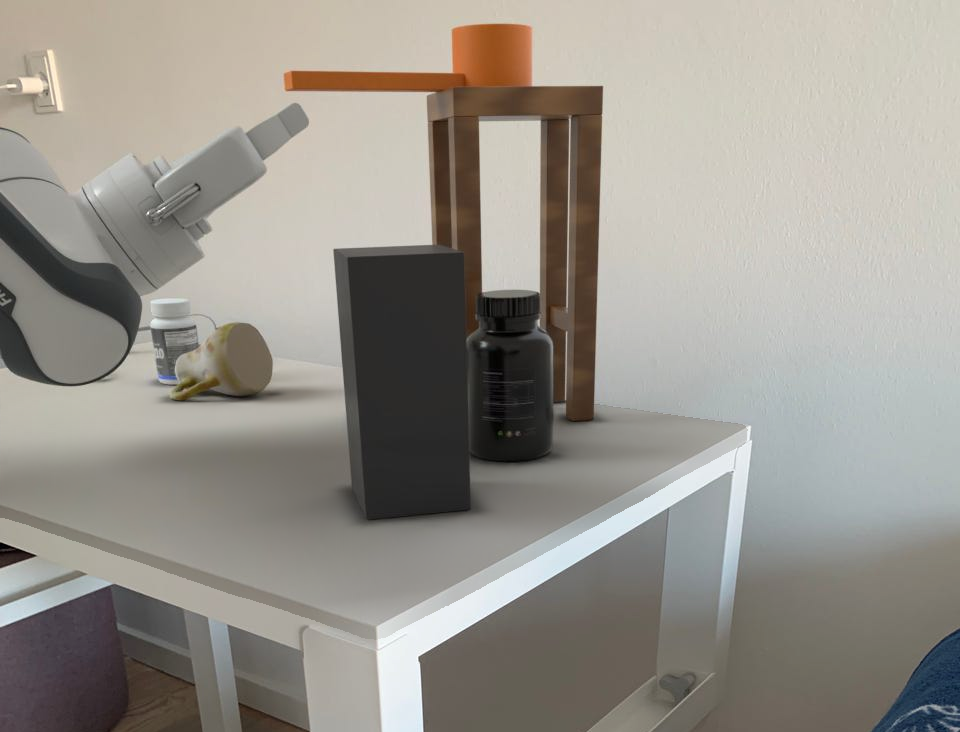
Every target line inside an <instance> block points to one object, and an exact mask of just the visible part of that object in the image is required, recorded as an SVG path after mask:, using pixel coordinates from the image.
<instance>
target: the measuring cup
mask: <svg viewBox="0 0 960 732" xmlns="http://www.w3.org/2000/svg"><path fill="white" fill-rule="evenodd" d="M451 50H452V51H451V56H452V57H451V59H452V72H413V71H411V72H409V71H408V72H407V71H406V72H405V71H404V72H403V71H347V70H346V71H337V70H335V71H334V70H290V71H287V72H284V73H283V83H284V91H285V92H341V93H343V92H347V93H348V92H349V93H351V92H352V93H353V92H354V93H355V92H357V93H358V92H359V93H360V92H363V93H365V92H367V93H369V92H370V93H436V92H439V91H442V90H445V89H448V88H451V87H475V86H533V27H532V26H530V25H527V24H521V23H477V24H466V25H461V26H457V27H453V28H452V29H451Z"/></svg>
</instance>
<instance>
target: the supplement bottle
mask: <svg viewBox="0 0 960 732" xmlns="http://www.w3.org/2000/svg"><path fill="white" fill-rule="evenodd" d="M540 319H541V311H540V292H539V291H536V290H529V289H497V290H489V291H488V290H487V291H482V293H478V294H477V295H476V320H477V321H479V328H478V329H476V330H475V331H474V332H472V333H471V334H470V335H469V336H468V338H467V340H466V342H467V380H468V419H469V452H470V453H471V454H473V456H475V457H477V458H479V459H483V460H487V461H494V462H521V461H529V460H534V459H538V458H541V457H543V456H545V455H547V454H548V453H550V451H551V450H552V448H553V446H554V402H553V341H552V339H551V337H550V335H549V334H548V333H547V332H546V331H545V330H543V329H542V328H540V325H539V324H538V323H539V320H540Z"/></svg>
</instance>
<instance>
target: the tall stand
mask: <svg viewBox="0 0 960 732" xmlns="http://www.w3.org/2000/svg"><path fill="white" fill-rule="evenodd" d="M603 106H604V85H532V86H475V87H451V88H448V89H445V90H442V91H439V92H432V93H430V94H427V95H426V116H427V141H428V142H427V143H428V169H429V194H430V196H429V197H430V217H431V218H430V220H431V221H430V222H431V245H442V246H445V247H449V248H452V249H455V250H458V251H461V252H464V264H465V303H466V340H467V338H468V336H469V335H470V334H471V333H472V332H474V331H475V330H476V329H478V328H479V321H477V320H476V295H477V294H478V293H482V292H483V261H482V260H483V258H482V256H483V255H482V214H481V213H482V210H481V209H482V207H481V205H482V204H481V155H480V153H481V152H480V149H481V148H480V122H531V121H532V122H535V121H536V122H537V121H538V122H539V121H540V148H539V149H540V151H539V153H540V155H539V156H540V158H539V159H540V160H539V161H540V169H539V170H540V171H539V172H540V174H539V175H540V176H539V177H540V178H539V179H540V180H539V183H540V184H539V185H540V186H539V190H540V191H539V192H540V193H539V196H540V197H539V214H540V215H539V293H540V311H541V319H539V327H540V328H542V329H543V330H545V331H546V332H547V333H548V334H549V335H550V337H551V339H552V341H553V403H562V402H565V417H566V418H567V419H569V420H570V421H572V422H582V421H593V420H594V418H595V389H596V387H595V385H596V355H597V352H596V351H597V320H598V319H597V318H598V317H597V316H598V287H599V286H598V284H599V283H598V282H599V281H598V280H599V247H600V245H599V243H600V214H601V213H600V212H601V211H600V207H601V206H600V205H601V176H602V175H601V174H602V142H603V141H602V140H603V139H602V137H603Z"/></svg>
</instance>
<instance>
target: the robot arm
mask: <svg viewBox="0 0 960 732" xmlns="http://www.w3.org/2000/svg"><path fill="white" fill-rule="evenodd" d="M309 124H310V120H309V117H308V116H307V114H306V112H305V111H304V109H303V107H302V106H301V104H299V103H297V102H293V103H291V104H289V105H288V106H286V107H285V108H284V109H282V110H281V111H279V112H278V113H276V114H274V115H272V116H271V117H269V118H267V119H265V120H264V121H262V122H260V123H258V124H256V125H255V126H253V127H252V128H250V129H249V130H248V131H246V132H245V130H244V128H242V127H241V126H239V125H234V126H232V127H231V128H228V129H226V130H225V131H223V132H222V133H221V134H219V135H218V136H216V137H215V138H214V139H212V140H211V141H209V142H208V143H205V145H203V146H201V147H199V148H197V149H195V150H193V151H191V152H189V153H187V154H186V155H184V156H182V157H180V158H178V159H175V160H173V161H172V162H169V163H168V161H167V160H166V158H165V157H164V156H163V155H161V154H160V155H158V156H156V157H155V158H153V160H151V161H150V162H148V163H147V164H145V163H144V162H142V161H141V160H140V158H138V156H137V155H136V153H134V152H132V151H131V152H129V153H127V154H126V155H125V156H124V157H122V158H120V159H119V160H118V161H116V162H114V164H112V165H111V166H109V167H107V168H106V169H104V171H102V172H101V173H99V174H98V175H96V176H95V177H93V178H92V179H90V180H89V181H88V182H87V183H85V184H84V185H83V186H81V187H80V188H79V189H78V190H77V191H76V192H75V193H73V194H70V192H69V191H68V189H67V188H66V187H65V185H64V183H63V181H62V180H61V179H60V177H59V176H58V174H57V173H56V172H55V170H54V168H53V167H52V165H51V164H50V163H49V161H48V160H47V159H46V156H44V155H43V153H41V152H40V151H39V149H37V147H35V146H34V145H33V144H32V143H31V142H30V141H29V139H27V138H26V137H25V136H24V135H22V134H20V133H18V132H17V131H15V130H11V129H9V128H6V127H2V126H0V359H1V360H2V361H3V363H4V365H5V366H6V368H7V369H8V370H9V371H10V373H12V374H13V375H15V376H17V377H20V378H22V379H26V380H28V381H32V382H35V383H39V384H44V385H50V386H55V387H56V386H57V387H81V386H86V385H90V384H94V383H96V382H98V381H101V380H103V379H105V378H107V377H108V376H110V375H112V374H113V373H114V372H115V371H116V370H117V369H119V367H120V366H121V365H122V364H123V363H124V362H125V360H126V359H127V357H128V356H129V354H130V351H131V350H132V348H133V346H134V344H135V342H136V338H137V335H138V328H139V327H140V324H141V319H142V314H143V313H142V312H143V302H142V298H141V297H143V296H147V295H149V294H152V293H155V292H156V291H158V290H159V289H161V288H163V287H164V286H166V284H168V283H170V282H171V281H172V280H174V279H175V278H176V277H178V276H179V275H181V274H183V273H184V272H185V271H187V270H188V269H189V268H191V267H192V266H194V265H195V264H197V263H198V262H200V261H201V260H203V259H204V258H205V257H206V254H205V252H204V250H203V249H202V247H201V246H200V243H199V240H201V239H202V238H204V237H205V235H208V234H209V233H211V232H212V231H213V227H212V226H211V224H210V223H209V221H208V220H207V219H208V218H209V217H210V216H211V215H212V214H213V213H215V212H216V210H218V209H219V208H221V207H223V206H224V205H225V204H227V203H228V202H229V201H231V200H232V199H234V198H235V197H236V196H238V195H240V194H241V193H243V192H244V191H246V190H247V189H248V188H250V187H252V186H253V185H254V184H256V183H257V182H258V181H259V180H261V179H262V178H263V177H264V176H265V175H266V174H267V172H268V167H267V165H266V164H265V162H264V161H265V160H267V159H268V158H269V157H271V156H272V155H273V154H275V153H277V152H278V150H280V149H281V148H282V147H283V146H284V145H285V144H286V143H288V142H289V141H290V140H291V139H293V138H294V137H296V136H297V135H298V134H299V133H301V132H302V131H304V130H306V129H307V128H308V126H309Z"/></svg>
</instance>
